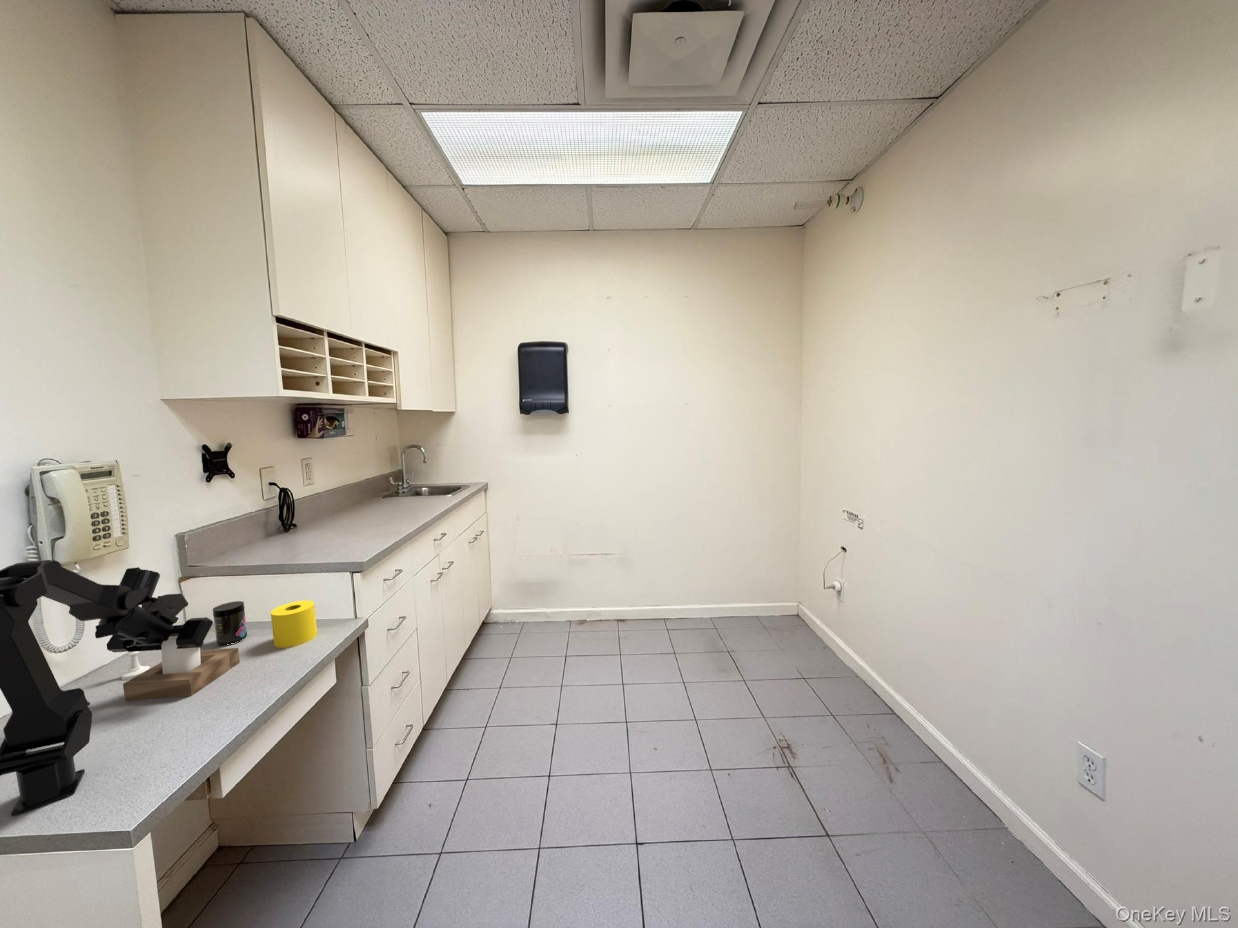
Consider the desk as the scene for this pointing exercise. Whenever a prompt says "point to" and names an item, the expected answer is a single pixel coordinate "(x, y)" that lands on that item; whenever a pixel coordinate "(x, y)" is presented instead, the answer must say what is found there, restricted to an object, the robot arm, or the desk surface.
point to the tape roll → (293, 624)
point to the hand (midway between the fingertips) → (187, 645)
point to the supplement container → (230, 622)
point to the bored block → (181, 677)
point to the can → (178, 657)
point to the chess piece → (134, 667)
